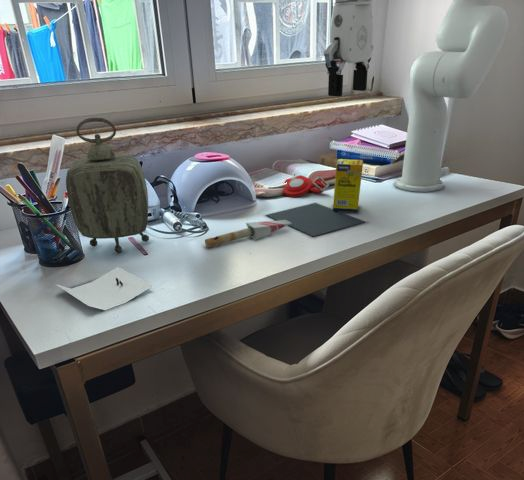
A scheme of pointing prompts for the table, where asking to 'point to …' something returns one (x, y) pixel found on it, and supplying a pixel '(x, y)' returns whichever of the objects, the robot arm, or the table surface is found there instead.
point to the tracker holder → (303, 186)
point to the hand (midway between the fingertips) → (347, 93)
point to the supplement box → (347, 185)
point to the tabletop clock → (107, 192)
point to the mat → (316, 219)
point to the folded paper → (109, 289)
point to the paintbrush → (248, 232)
